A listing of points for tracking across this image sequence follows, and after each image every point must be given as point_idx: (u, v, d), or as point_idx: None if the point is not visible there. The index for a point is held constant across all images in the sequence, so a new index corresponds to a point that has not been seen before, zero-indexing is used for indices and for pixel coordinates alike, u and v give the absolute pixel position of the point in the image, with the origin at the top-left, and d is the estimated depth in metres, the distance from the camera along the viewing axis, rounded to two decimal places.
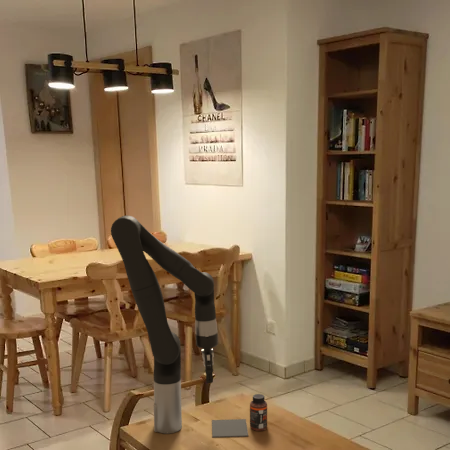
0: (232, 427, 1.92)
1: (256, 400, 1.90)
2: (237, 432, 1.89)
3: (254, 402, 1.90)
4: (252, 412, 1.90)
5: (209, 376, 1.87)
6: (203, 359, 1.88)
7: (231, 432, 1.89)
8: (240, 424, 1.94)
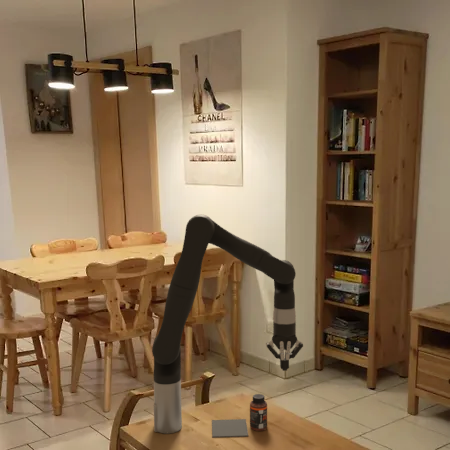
0: (232, 427, 1.92)
1: (256, 400, 1.90)
2: (237, 432, 1.89)
3: (254, 402, 1.90)
4: (252, 412, 1.90)
5: (288, 362, 1.91)
6: (290, 348, 1.88)
7: (231, 432, 1.89)
8: (240, 424, 1.94)
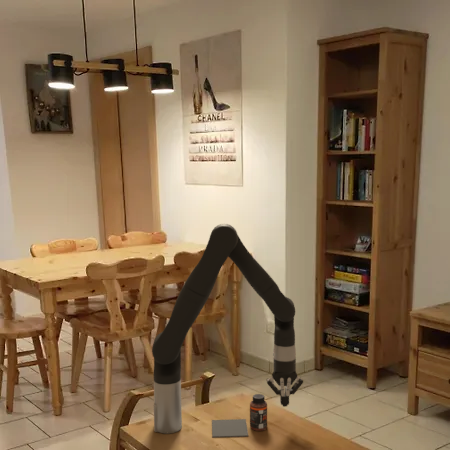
0: (232, 427, 1.92)
1: (256, 400, 1.90)
2: (237, 432, 1.89)
3: (254, 402, 1.90)
4: (252, 412, 1.90)
5: (288, 398, 1.92)
6: None
7: (231, 432, 1.89)
8: (240, 424, 1.94)
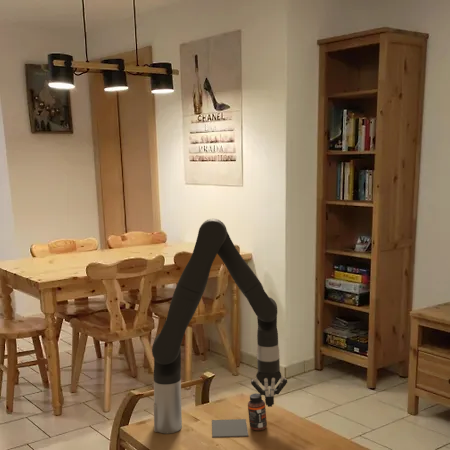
0: (232, 427, 1.92)
1: (253, 399, 1.90)
2: (237, 432, 1.89)
3: (251, 402, 1.90)
4: (250, 412, 1.90)
5: None
6: (274, 385, 1.90)
7: (231, 432, 1.89)
8: (240, 424, 1.94)
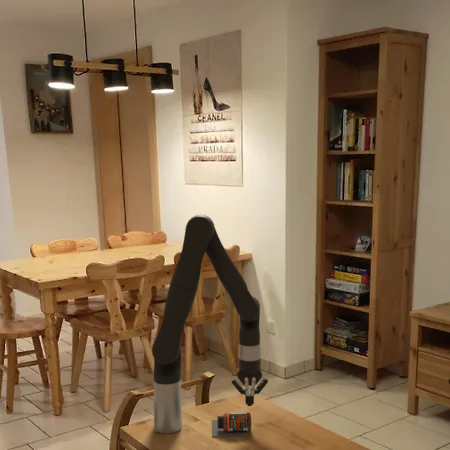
0: None
1: (219, 428, 1.89)
2: (237, 432, 1.89)
3: None
4: None
5: (253, 398, 1.91)
6: (255, 384, 1.89)
7: (231, 432, 1.89)
8: None
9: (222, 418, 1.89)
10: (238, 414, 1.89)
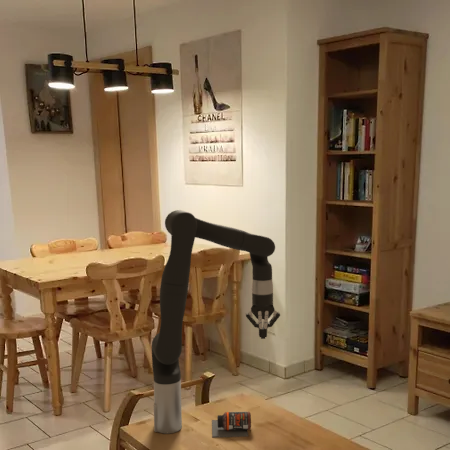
0: None
1: (219, 427, 1.89)
2: (237, 432, 1.89)
3: (222, 427, 1.90)
4: None
5: (266, 331, 2.03)
6: (268, 317, 2.01)
7: (231, 432, 1.89)
8: None
9: (222, 416, 1.90)
10: (238, 412, 1.90)
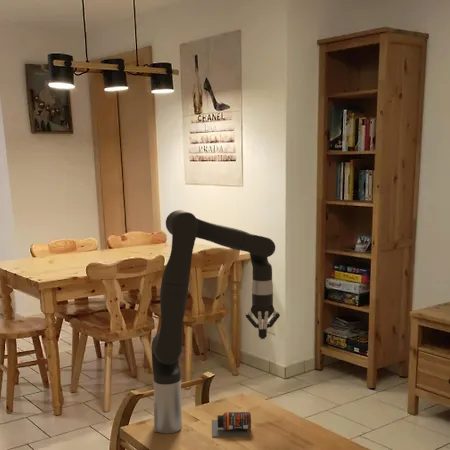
0: None
1: (219, 427, 1.89)
2: (237, 432, 1.89)
3: None
4: None
5: None
6: (267, 318, 2.01)
7: (231, 432, 1.89)
8: None
9: (222, 416, 1.90)
10: (238, 412, 1.90)
